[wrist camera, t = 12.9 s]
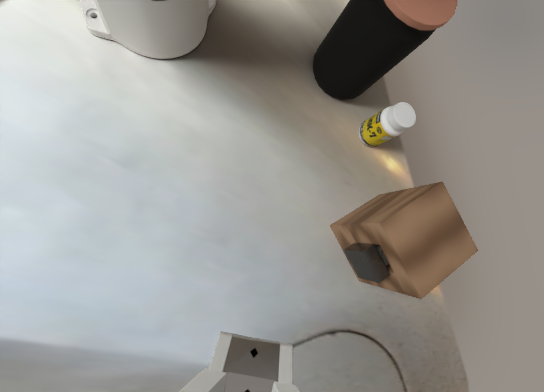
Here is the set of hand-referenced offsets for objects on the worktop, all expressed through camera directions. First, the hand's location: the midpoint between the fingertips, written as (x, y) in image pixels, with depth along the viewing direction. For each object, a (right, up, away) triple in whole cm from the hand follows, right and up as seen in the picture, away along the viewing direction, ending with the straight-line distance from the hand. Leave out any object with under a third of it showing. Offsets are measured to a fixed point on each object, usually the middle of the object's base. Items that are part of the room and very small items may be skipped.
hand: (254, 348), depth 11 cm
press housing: (+17, 0, +33) cm, 37 cm away
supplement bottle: (+18, +17, +36) cm, 44 cm away
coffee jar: (+12, +28, +36) cm, 47 cm away
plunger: (+17, -1, +28) cm, 33 cm away
